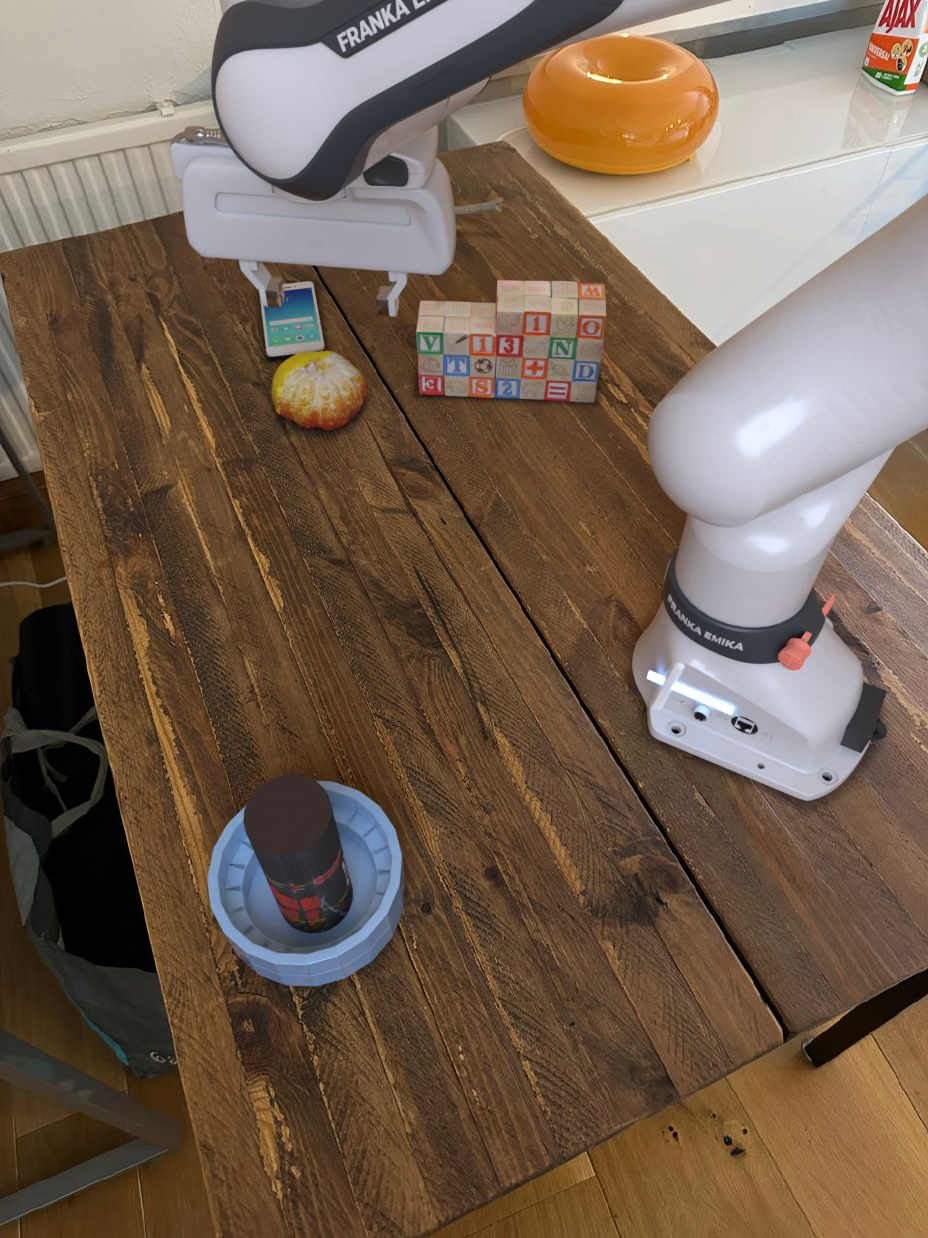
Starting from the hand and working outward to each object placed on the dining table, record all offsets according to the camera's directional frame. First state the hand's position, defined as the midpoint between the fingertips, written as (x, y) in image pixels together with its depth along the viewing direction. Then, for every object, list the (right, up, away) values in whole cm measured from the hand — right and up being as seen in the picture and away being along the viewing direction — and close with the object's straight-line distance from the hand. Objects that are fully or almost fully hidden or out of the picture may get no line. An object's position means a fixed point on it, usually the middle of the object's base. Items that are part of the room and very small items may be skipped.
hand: (330, 307), depth 76 cm
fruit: (-6, 0, +37) cm, 37 cm away
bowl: (-1, -48, 0) cm, 48 cm away
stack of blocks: (+16, +4, +40) cm, 43 cm away
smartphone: (-12, +14, +47) cm, 51 cm away
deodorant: (-1, -48, 0) cm, 48 cm away
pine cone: (+6, +30, +60) cm, 67 cm away
